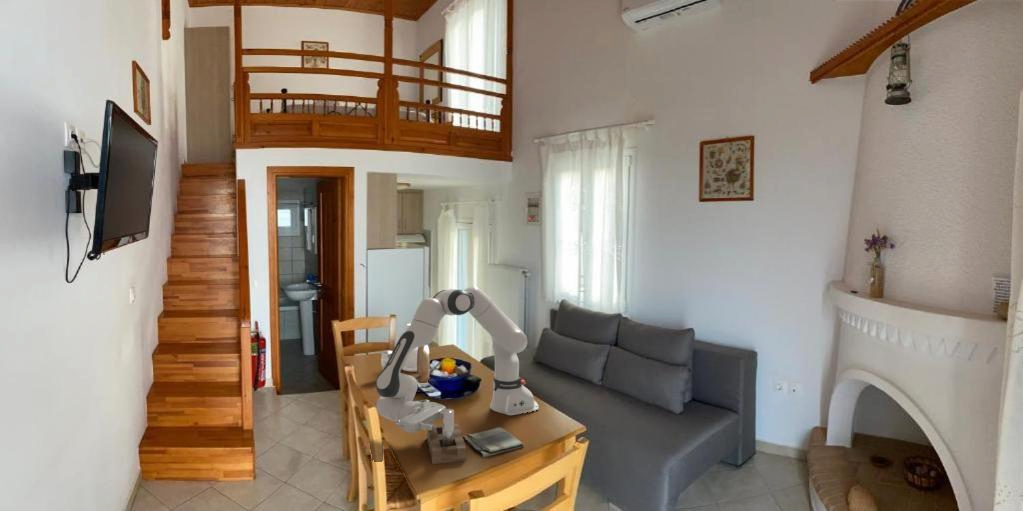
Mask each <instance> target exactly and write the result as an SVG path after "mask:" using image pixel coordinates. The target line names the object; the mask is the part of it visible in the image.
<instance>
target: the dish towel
mask: <svg viewBox="0 0 1023 511" xmlns="http://www.w3.org/2000/svg"><path fill="white" fill-rule="evenodd" d="M462 437H463V438H466V439H467V440H465V441H466V443H467V442H468V443H469V444H470V445H471V446H472V448H474V449H473V450H474V451H475V450H476V451H477V452H476V451H475V452H476V453H477V454H480V455H481V456H482V458H487V457H492V456H495V455H497V454H501V453H505V452H509V451H513V450H517V449H521V448H523V447H524V446H525V444H524V443H523V442H522V441H520V440H519V439H518V438H517V437H515V436H514V435H513V434H511V433H510V432H508V431H507V430H505V429H504V428H502V427H500V426H498V427H495V428H492V429H488V430H484V431H479V432H475V433H468V434H467V435H462ZM469 444H468V445H469ZM470 445H469V446H470ZM471 446H470V447H471Z"/></svg>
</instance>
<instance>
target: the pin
mask: <svg viewBox="0 0 1023 511" xmlns="http://www.w3.org/2000/svg"><path fill="white" fill-rule="evenodd" d="M454 424H455V410H454V409H453V408H446V409H445V410H443V418H442V425H443V439H442V447H447V446H453V437H454Z"/></svg>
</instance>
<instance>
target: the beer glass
mask: <svg viewBox="0 0 1023 511" xmlns="http://www.w3.org/2000/svg"><path fill="white" fill-rule="evenodd" d="M392 352H393V350H391V349H390V350H388V349H387V350H382V351H381V360H380V361H381V363H380V364H381V368H382V370H383V369H384V367H385V366H386V364H387V362H388V360H389V358H390V356H391V354H392ZM382 370H381V371H382Z"/></svg>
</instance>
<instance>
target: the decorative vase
mask: <svg viewBox="0 0 1023 511" xmlns="http://www.w3.org/2000/svg"><path fill="white" fill-rule="evenodd" d="M411 323H412V322H410V323H409V322H408V323H407V324H406V329H405V330H404V333H405V332H406V331H407V330H408V328H409V327H410V325H411ZM428 345H429V344H428ZM428 345H425V346H424V351H425V352H426V353H427V354H428V355H430V347H429V346H428ZM417 351H418V347H417V348H415V349H413V350H412V351H411V352H410V353H409V354H408V356H407V358H406V360H405V362H404V365H403V367H402V369H401V370H402V371H405V372H417Z"/></svg>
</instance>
